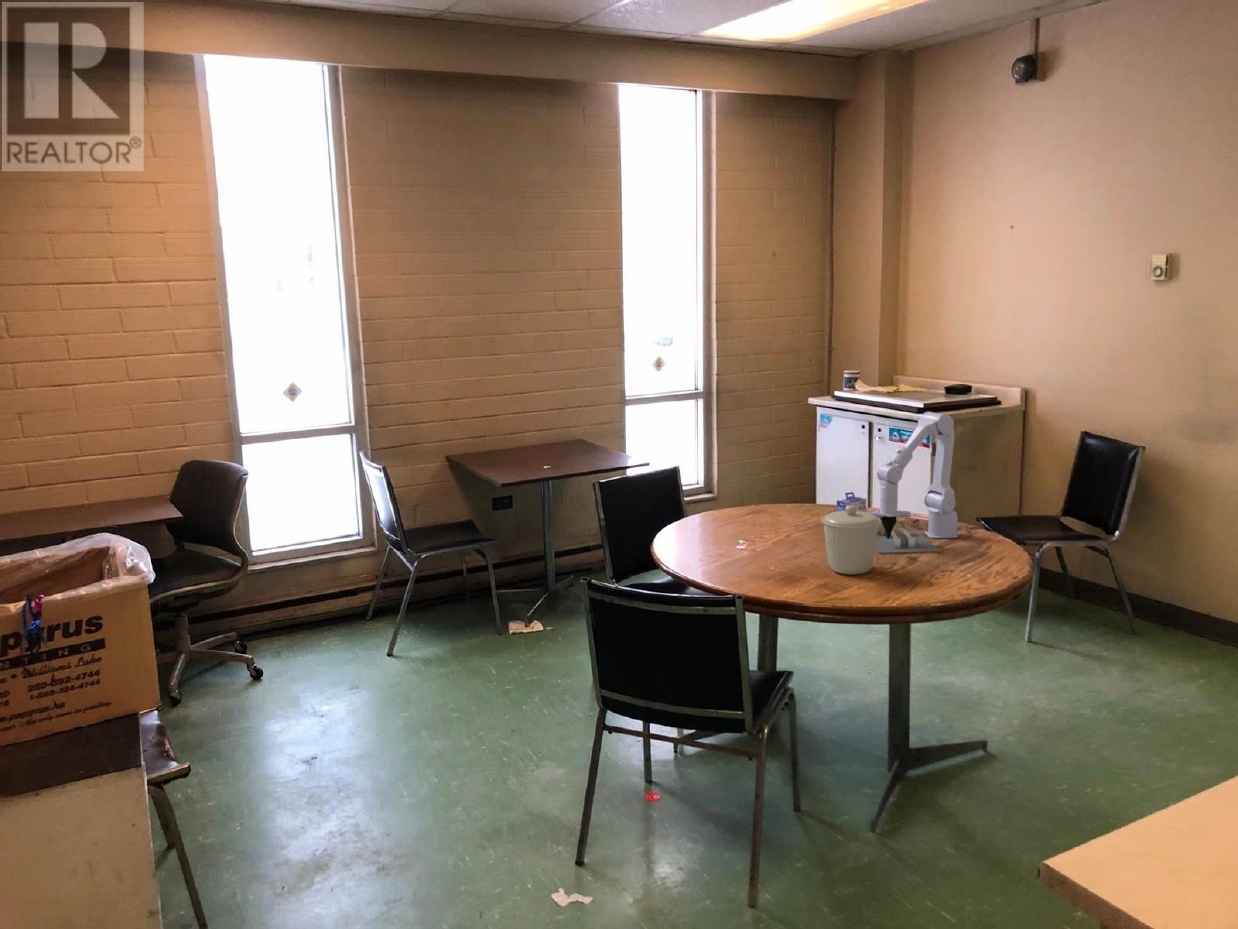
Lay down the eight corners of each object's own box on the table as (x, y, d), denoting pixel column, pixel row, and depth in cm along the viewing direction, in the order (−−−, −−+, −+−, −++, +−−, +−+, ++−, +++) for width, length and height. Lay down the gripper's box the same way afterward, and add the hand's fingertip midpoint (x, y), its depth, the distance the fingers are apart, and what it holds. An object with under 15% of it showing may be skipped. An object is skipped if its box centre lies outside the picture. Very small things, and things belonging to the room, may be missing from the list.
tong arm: (891, 535, 344) (891, 527, 344) (900, 548, 328) (900, 539, 328) (884, 535, 345) (884, 527, 344) (893, 548, 328) (893, 539, 328)
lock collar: (902, 532, 347) (902, 518, 347) (904, 534, 345) (904, 520, 344) (878, 533, 348) (879, 519, 347) (880, 535, 345) (881, 521, 344)
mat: (917, 532, 349) (917, 530, 349) (939, 552, 324) (939, 550, 324) (861, 534, 350) (861, 532, 350) (878, 554, 324) (879, 552, 324)
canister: (823, 578, 301) (823, 512, 297) (819, 561, 318) (819, 499, 314) (883, 579, 298) (884, 512, 294) (876, 562, 316) (877, 498, 312)
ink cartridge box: (857, 528, 358) (858, 490, 355) (867, 532, 353) (867, 492, 350) (835, 532, 353) (836, 493, 351) (845, 535, 349) (845, 496, 346)
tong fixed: (902, 534, 344) (902, 526, 344) (915, 547, 328) (915, 538, 328) (896, 535, 344) (896, 526, 344) (908, 547, 328) (908, 539, 328)
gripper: (870, 502, 329) (869, 541, 332) (913, 501, 329) (912, 540, 331) (865, 498, 336) (864, 536, 339) (907, 497, 336) (906, 535, 338)
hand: (887, 538), depth 336 cm, fingers closed
